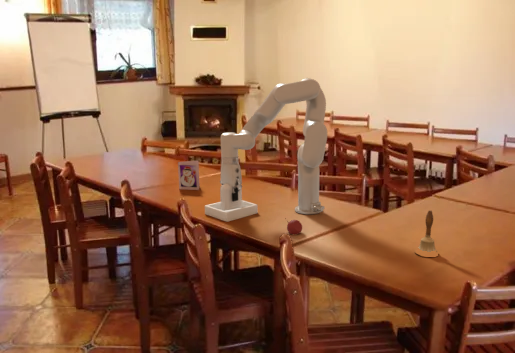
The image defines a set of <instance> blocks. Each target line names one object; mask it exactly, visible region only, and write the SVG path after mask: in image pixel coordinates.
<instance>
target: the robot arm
mask: <svg viewBox="0 0 515 353" xmlns="http://www.w3.org/2000/svg"><path fill="white" fill-rule="evenodd" d="M301 102H305V103H306V104H305V105H306V109H305V117H304V121H303V122H304V123H303V125H302V126H303V127H302V134H303V136H304V142H303V143H302V144H301V145H299V148H298V150H297V156H296V157H297V171H298V174H297V175H298V176H297V179H298V180H297V182H298V184H297V187H298V188H297V199H298V201H297V206H295V207H294V211H295V212H296V213H298V214H301V215H317V214H320V213H322V212H324V209H325V206H324V205H322V202H321V201H320V165H321V164H322V162H323V160H324V156H325V152H326V146H327V140H328V129H327V126H326V125H325V116H326V110H327V100H326V96H325V93H324V91H323V89H322V88H321V84H320V83H319V82H318V81H317V80H315V79H313V78H311V77H309V78H308V77H306V78H303V79H301V80H300V81H294V82H289V83H286V82H281V83H278V84H276V85H274V87H273V88H272V89H271V90H270V92H269V93H268V94H267V96H266V97H265V98H264V100H263V102H261V104H260V105H259V106H258V108H257V109H256V110H255V112H254V113H253V114H252V116H251V117H250V118H249V119H248V120H247V122H246V123H245V125H244V126H243V128H241V130H240V131H239V133H236V132H230V131H229V132H223V133H222V134H221V135H220V152H221V154H220V155H221V156H220V157H221V160H220V161H221V164H220V180H219V183H220V185H221V186H222V185H223V184H228V185H229V186H232V191H233V193H232V201H233V202H234V201H238V192H239V190H240V189H241V188H243V185H242V184H243V179H242V178H243V177H242V170H241V166H240V163H239V150H243V151H248V150H251V149H253V148H254V147H255V145H256V138H257V137H258V136H259V134H260V133H261V131H263V130H264V128H265V127H267V126H268V125H269V124H271V123H273V121H274V120H275V119H276V118H277V116H278V115H279V113H280V112H281V111H282V110H283V108H284V107H285V106H286V105H288V104H294V103H301ZM234 187H236V188H234Z"/></svg>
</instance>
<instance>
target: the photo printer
mask: <svg viewBox="0 0 515 353" xmlns="http://www.w3.org/2000/svg"><path fill="white" fill-rule="evenodd" d="M219 188H220V189H219V190H220V191H219V192H220V193H219V194H220V195H219V196H220V198H219V199H220V202H221V210H223V211H226V210H232V209H237V208H241V207H242V200H243V193H242V192H243V189H242V188H243V187H242V188H241V189H240V190H239V192H238V201H234V202H233V201H232V193H233V191H232V186H229V185H228V184H223V185H221V186H220V187H219ZM234 188H236V187H234Z"/></svg>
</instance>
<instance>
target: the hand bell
mask: <svg viewBox="0 0 515 353" xmlns="http://www.w3.org/2000/svg"><path fill="white" fill-rule="evenodd" d="M433 224H434V215H433V211H432V210H428V211H427V213H426V216H425V226H426V227H425V228H426V229H425V236H424V237H422V238H421V239H420V243H419V246H418V247H417V248H419V249H420V250H422V251H427V252H431V251H435V250H436V251H437V249H436V246H435V239H434V238H432V237H431V235H432V226H433Z"/></svg>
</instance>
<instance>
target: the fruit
mask: <svg viewBox="0 0 515 353" xmlns="http://www.w3.org/2000/svg"><path fill="white" fill-rule="evenodd" d="M286 219H287V218H285V220H286ZM286 221H287V225H286V230H287V232H288V234H290V235H293V234H297V235H300V234H301V232H302V231H303V225H302V223H301V222H300V220H297V219H292V220H290V221H288V220H286Z"/></svg>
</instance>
